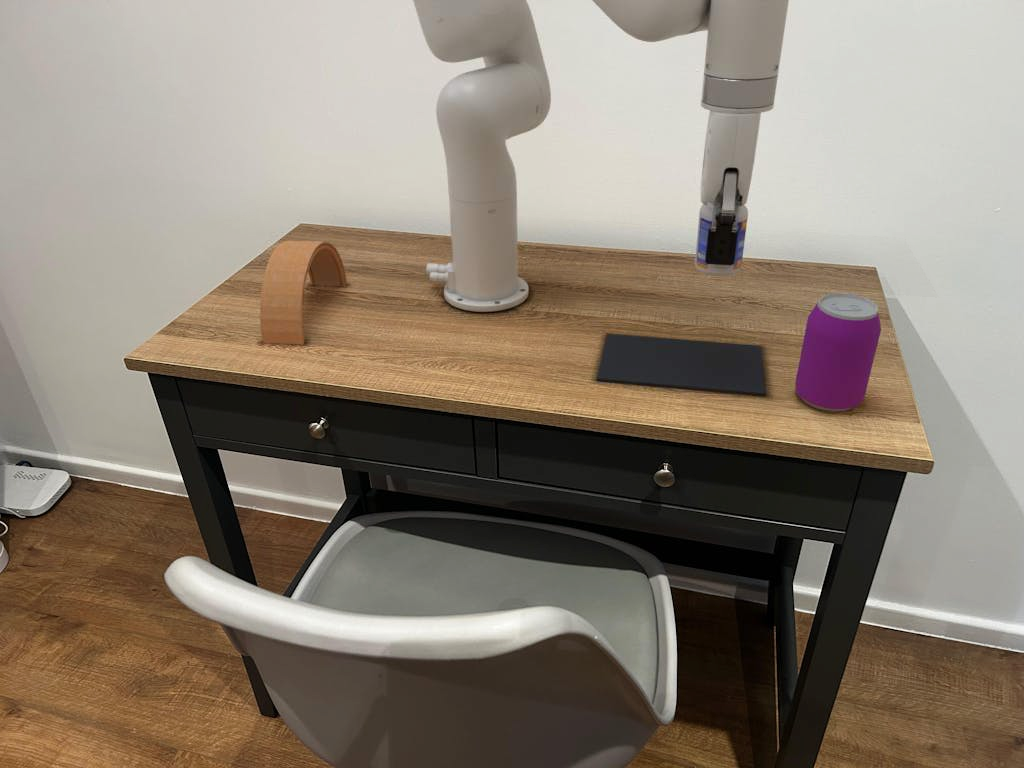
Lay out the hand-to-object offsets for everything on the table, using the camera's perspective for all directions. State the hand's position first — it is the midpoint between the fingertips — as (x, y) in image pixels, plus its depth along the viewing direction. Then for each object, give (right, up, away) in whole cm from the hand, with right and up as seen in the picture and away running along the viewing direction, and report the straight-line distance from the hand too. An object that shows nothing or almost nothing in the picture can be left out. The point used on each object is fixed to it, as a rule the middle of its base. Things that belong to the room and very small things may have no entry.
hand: (718, 252), depth 94 cm
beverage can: (+13, -17, 0) cm, 21 cm away
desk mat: (-3, -13, +8) cm, 15 cm away
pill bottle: (0, -2, +1) cm, 2 cm away
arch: (-54, -5, +22) cm, 58 cm away
